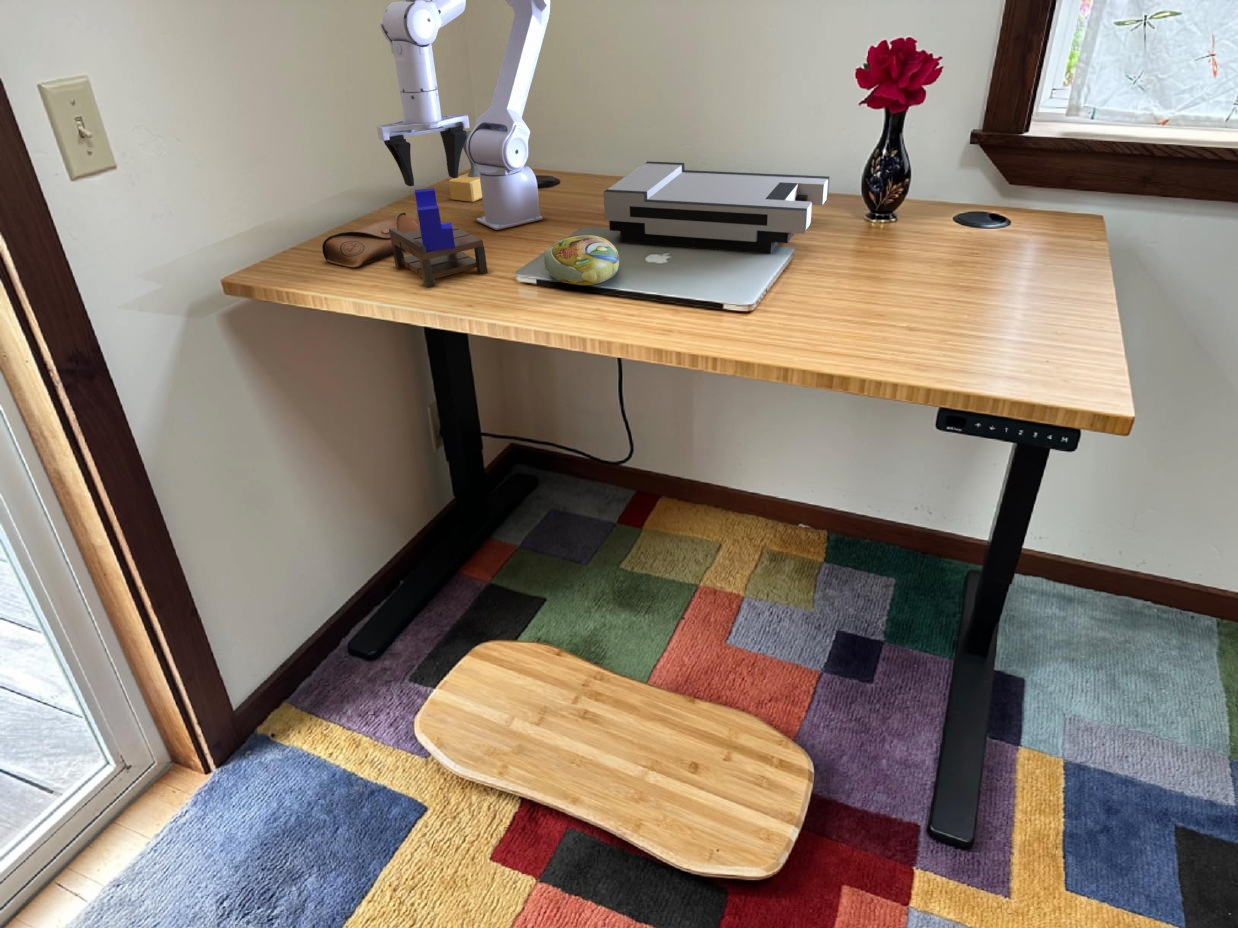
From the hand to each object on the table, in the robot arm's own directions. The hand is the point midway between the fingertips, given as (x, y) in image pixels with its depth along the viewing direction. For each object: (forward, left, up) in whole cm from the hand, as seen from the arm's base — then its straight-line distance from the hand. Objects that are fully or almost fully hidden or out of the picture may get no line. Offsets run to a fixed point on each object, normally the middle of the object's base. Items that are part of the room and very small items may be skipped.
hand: (431, 181), depth 139 cm
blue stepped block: (+6, +12, -6) cm, 15 cm away
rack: (+6, +12, -10) cm, 17 cm away
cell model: (-9, +30, -11) cm, 33 cm away
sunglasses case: (+9, -4, -11) cm, 14 cm away
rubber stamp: (-19, -25, -11) cm, 33 cm away
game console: (-38, +26, -11) cm, 47 cm away
